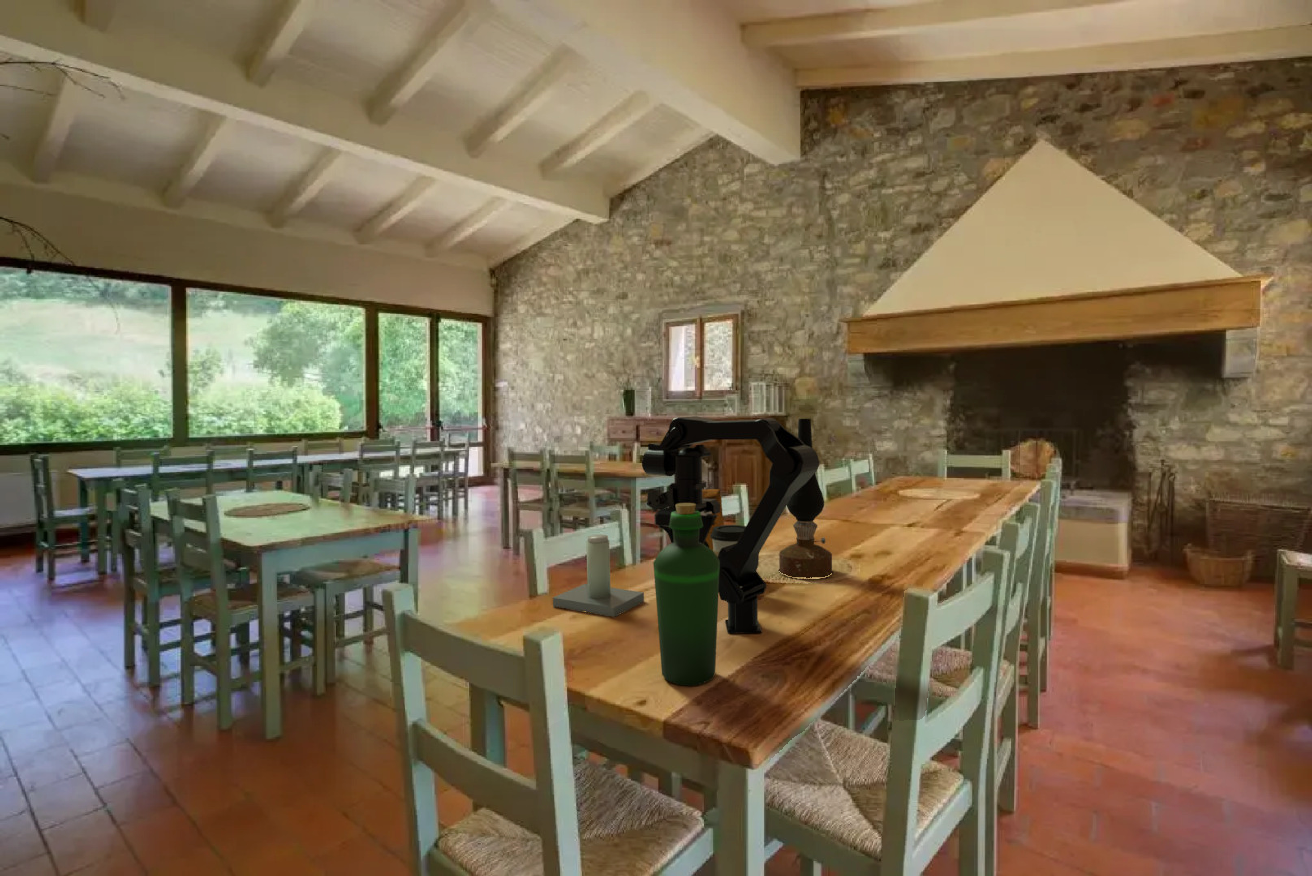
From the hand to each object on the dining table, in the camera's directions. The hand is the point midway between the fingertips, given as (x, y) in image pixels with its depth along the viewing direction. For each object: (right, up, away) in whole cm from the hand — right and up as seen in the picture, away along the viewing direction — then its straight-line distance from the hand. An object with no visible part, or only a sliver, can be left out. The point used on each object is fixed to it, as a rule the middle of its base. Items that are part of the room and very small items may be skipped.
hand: (689, 553), depth 135 cm
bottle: (-2, -15, -29) cm, 33 cm away
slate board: (-19, -13, +9) cm, 25 cm away
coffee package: (+5, -11, +33) cm, 35 cm away
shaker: (-19, -11, +9) cm, 24 cm away
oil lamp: (+31, -11, +32) cm, 46 cm away
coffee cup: (+11, -12, +15) cm, 22 cm away
